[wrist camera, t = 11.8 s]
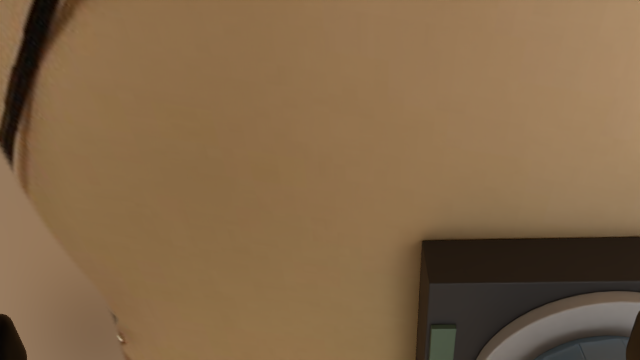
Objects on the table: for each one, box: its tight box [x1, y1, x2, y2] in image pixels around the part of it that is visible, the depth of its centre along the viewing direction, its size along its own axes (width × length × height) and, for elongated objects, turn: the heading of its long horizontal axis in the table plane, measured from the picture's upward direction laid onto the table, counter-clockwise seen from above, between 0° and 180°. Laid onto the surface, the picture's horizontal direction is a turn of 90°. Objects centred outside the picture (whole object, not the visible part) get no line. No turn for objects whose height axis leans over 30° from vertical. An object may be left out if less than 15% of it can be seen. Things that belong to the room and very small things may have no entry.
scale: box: [416, 237, 640, 360], centre depth 24 cm, size 12×10×3 cm
